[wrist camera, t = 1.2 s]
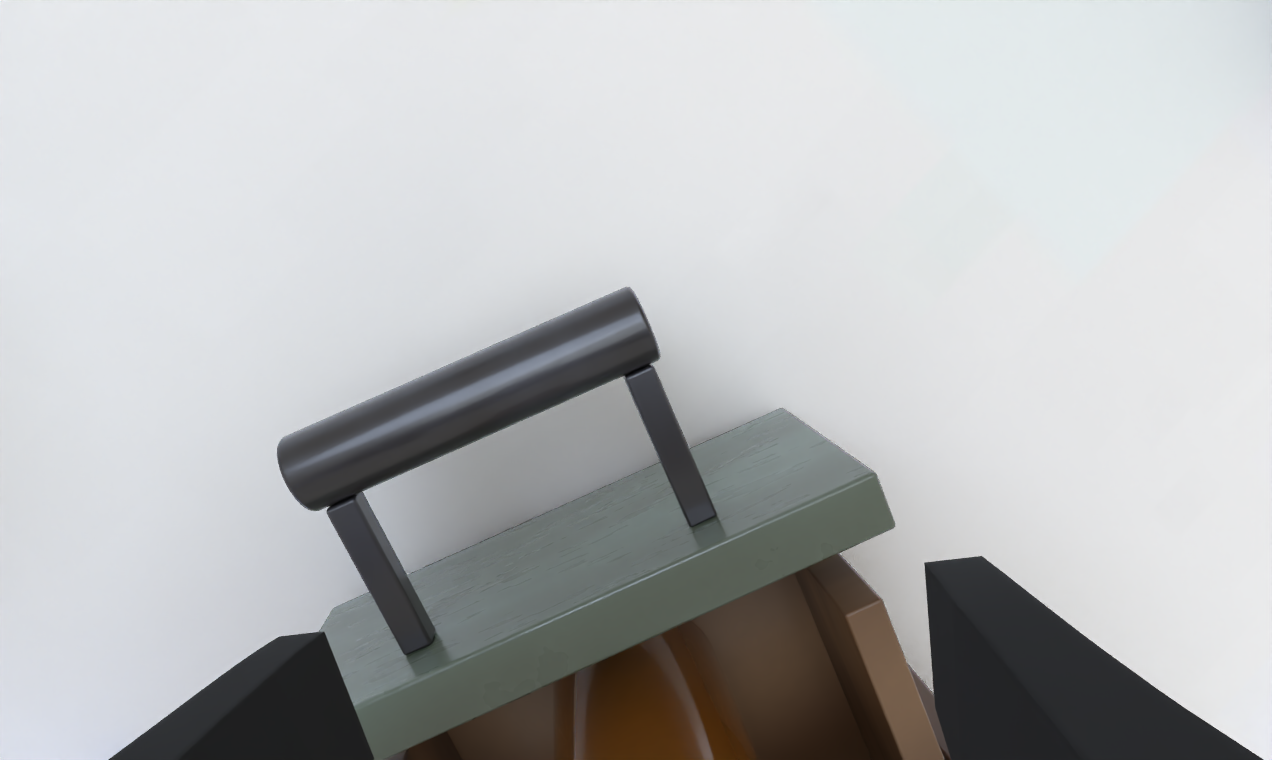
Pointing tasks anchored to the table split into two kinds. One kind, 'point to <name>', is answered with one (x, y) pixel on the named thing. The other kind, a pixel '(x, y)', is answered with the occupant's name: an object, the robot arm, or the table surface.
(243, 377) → the table surface
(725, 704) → the glass bottle
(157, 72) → the table surface
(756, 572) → the rack drawer
